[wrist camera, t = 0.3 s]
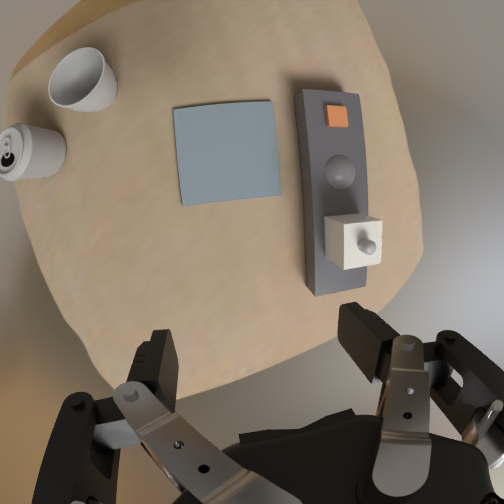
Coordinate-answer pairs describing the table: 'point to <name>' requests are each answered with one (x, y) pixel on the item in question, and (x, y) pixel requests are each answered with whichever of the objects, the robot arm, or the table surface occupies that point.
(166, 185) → the table surface
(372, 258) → the block
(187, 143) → the mat
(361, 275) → the power strip
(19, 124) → the can
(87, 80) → the cup
